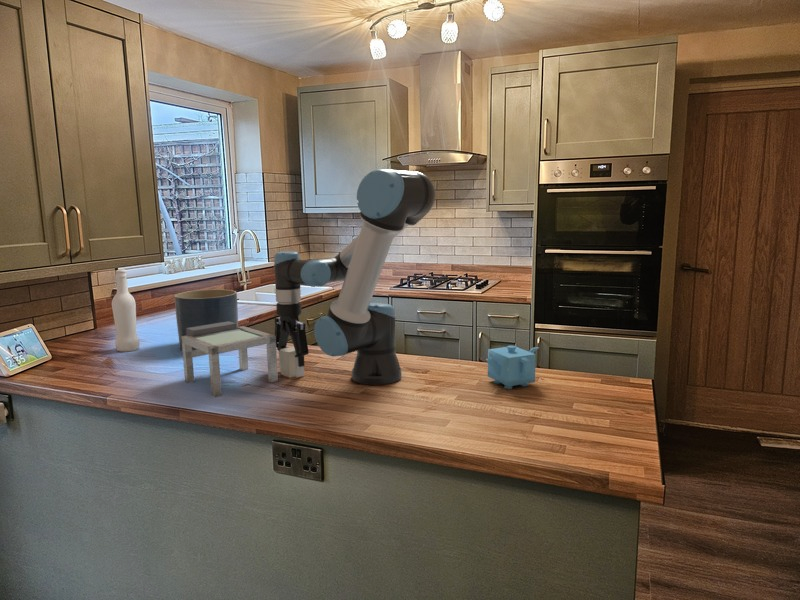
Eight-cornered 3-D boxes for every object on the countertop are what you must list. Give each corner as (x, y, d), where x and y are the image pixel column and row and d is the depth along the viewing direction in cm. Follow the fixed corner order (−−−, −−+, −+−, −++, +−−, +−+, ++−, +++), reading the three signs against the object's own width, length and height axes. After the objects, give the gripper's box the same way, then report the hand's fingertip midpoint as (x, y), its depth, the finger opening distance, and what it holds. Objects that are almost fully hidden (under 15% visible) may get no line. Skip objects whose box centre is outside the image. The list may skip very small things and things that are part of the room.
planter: (238, 337, 225) (235, 288, 222) (241, 350, 204) (237, 296, 201) (180, 341, 218) (176, 291, 215) (176, 355, 198) (172, 300, 194)
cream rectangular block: (303, 374, 174) (302, 349, 173) (289, 377, 171) (288, 352, 169) (294, 370, 178) (293, 346, 176) (281, 374, 174) (279, 349, 173)
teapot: (472, 380, 166) (472, 343, 164) (522, 372, 173) (523, 337, 171) (502, 396, 151) (503, 356, 149) (555, 387, 158) (557, 349, 156)
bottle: (110, 351, 205) (102, 270, 200) (128, 346, 212) (121, 268, 208) (127, 353, 202) (119, 271, 197) (144, 347, 209) (137, 268, 204)
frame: (277, 381, 167) (275, 335, 165) (214, 397, 154) (211, 348, 151) (245, 367, 182) (242, 325, 179) (185, 381, 168) (181, 336, 166)
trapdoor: (263, 346, 166) (262, 330, 165) (215, 356, 156) (214, 339, 155) (231, 336, 181) (230, 321, 180) (185, 344, 170) (184, 328, 170)
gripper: (318, 304, 165) (321, 377, 169) (280, 296, 180) (284, 364, 184) (297, 307, 160) (300, 383, 164) (260, 299, 175) (264, 368, 179)
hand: (292, 373), depth 174 cm, fingers open, 8 cm apart
